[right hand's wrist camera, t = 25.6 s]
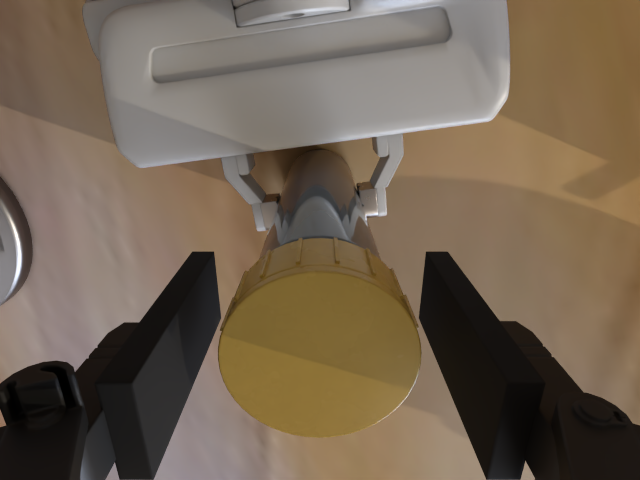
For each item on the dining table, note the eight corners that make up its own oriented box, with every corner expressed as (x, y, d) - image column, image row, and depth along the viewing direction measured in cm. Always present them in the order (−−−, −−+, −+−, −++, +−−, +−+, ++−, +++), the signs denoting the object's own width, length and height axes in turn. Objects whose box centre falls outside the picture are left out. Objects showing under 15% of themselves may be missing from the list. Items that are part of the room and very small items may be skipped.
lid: (442, 319, 13) (466, 366, 10) (316, 410, 14) (315, 468, 12) (324, 197, 11) (325, 224, 9) (197, 313, 12) (172, 360, 10)
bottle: (357, 205, 30) (412, 387, 12) (296, 218, 30) (262, 413, 13) (345, 142, 28) (388, 246, 10) (280, 157, 29) (215, 282, 11)
